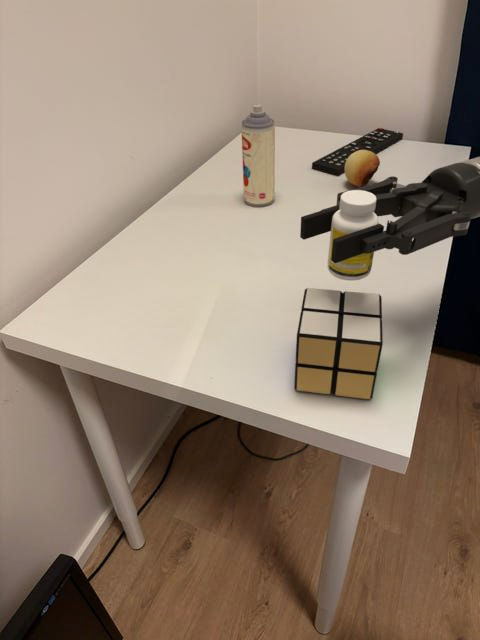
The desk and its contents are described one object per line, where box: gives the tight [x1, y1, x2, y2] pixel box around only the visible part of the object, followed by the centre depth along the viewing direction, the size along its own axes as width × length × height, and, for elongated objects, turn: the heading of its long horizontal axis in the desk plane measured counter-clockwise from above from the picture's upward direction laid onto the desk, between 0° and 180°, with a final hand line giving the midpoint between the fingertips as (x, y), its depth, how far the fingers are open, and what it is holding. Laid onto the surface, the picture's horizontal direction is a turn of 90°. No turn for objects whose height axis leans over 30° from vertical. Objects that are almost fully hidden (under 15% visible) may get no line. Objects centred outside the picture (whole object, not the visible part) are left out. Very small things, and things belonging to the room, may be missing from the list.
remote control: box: [311, 127, 404, 177], centre depth 126 cm, size 8×32×2 cm, turn 137°
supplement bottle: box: [327, 189, 380, 281], centre depth 58 cm, size 5×5×10 cm
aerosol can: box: [240, 104, 276, 208], centre depth 102 cm, size 7×7×20 cm
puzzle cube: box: [293, 287, 384, 400], centre depth 63 cm, size 10×10×10 cm
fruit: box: [344, 150, 381, 188], centre depth 109 cm, size 8×8×8 cm
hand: (317, 239), depth 55 cm, fingers closed on supplement bottle, 5 cm apart
